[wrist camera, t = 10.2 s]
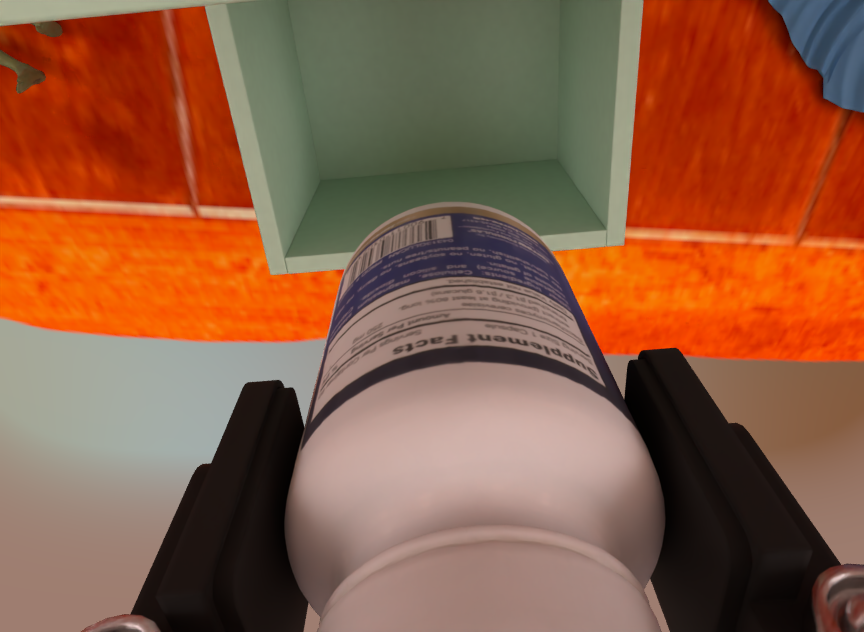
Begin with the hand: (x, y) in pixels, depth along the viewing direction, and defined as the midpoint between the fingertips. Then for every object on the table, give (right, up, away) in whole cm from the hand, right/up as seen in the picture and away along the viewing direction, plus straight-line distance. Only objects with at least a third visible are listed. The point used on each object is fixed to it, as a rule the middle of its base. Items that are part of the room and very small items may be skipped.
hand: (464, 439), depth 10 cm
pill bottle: (0, +3, +4) cm, 5 cm away
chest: (-1, +16, +23) cm, 28 cm away
